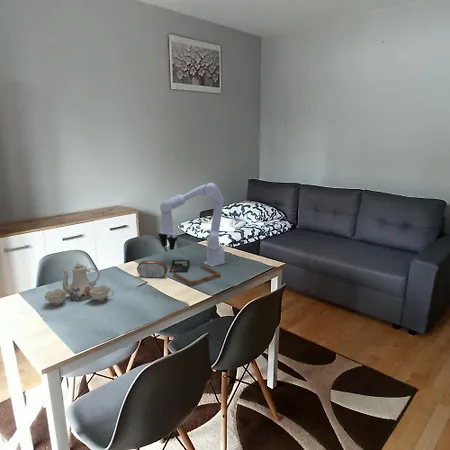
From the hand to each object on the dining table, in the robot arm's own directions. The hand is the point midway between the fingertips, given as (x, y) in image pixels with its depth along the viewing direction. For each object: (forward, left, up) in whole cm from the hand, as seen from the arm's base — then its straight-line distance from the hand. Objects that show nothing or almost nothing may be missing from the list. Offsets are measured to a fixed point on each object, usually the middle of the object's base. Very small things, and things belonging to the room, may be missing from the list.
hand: (168, 247), depth 199 cm
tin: (+16, +10, -10) cm, 21 cm away
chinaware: (+52, +11, -10) cm, 54 cm away
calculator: (-1, +9, -10) cm, 14 cm away
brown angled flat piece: (-1, +24, -10) cm, 26 cm away
